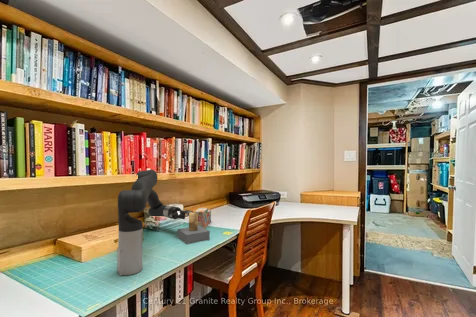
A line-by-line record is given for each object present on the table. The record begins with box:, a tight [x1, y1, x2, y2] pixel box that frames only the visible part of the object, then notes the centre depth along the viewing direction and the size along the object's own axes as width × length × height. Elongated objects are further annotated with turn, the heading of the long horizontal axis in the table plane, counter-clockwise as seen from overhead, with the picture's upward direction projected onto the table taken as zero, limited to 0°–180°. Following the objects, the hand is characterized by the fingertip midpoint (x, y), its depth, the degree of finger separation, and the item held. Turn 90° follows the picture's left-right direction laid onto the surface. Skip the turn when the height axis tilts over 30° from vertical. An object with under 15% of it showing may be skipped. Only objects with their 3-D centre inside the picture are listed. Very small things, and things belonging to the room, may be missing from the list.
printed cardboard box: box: [194, 207, 212, 229], centre depth 172 cm, size 21×6×12 cm, turn 173°
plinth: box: [176, 226, 211, 245], centre depth 144 cm, size 14×14×5 cm
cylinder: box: [188, 211, 198, 231], centre depth 144 cm, size 5×5×10 cm
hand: (190, 216), depth 146 cm, fingers open, 8 cm apart
